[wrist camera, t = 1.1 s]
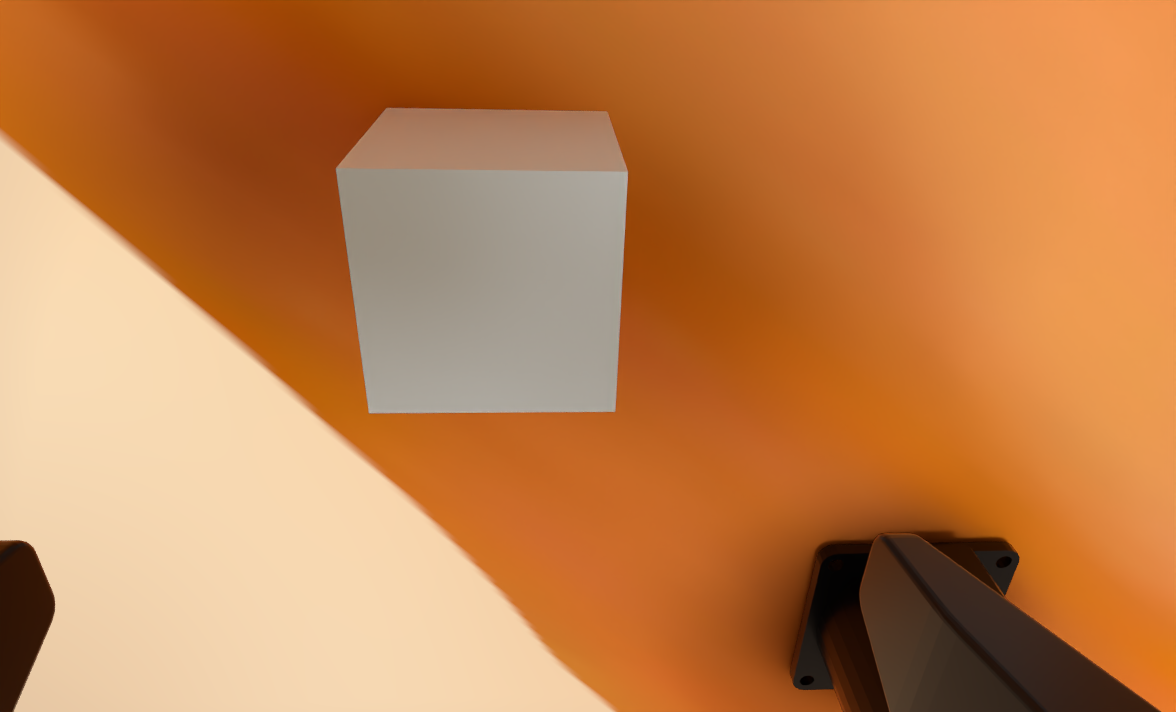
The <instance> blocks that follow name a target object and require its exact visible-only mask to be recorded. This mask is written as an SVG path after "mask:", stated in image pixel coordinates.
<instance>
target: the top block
mask: <svg viewBox="0 0 1176 712" xmlns="http://www.w3.org/2000/svg"><path fill="white" fill-rule="evenodd" d="M336 174H337V182H338V189H339V196H340V204H341V211H342V218H343V226H344V233H345V240H346V248H347V255H348V263H349V270H350V277H351V285H352V292H353V299H354V307H355V314H356V321H357V329H358V336H359V343H360V351H361V358H362V365H363V373H364V380H365V387H366V395H367V402H368V409H369V413H496V412H615V408H616V389H617V371H618V352H619V333H620V314H621V295H622V276H623V257H624V238H625V220H626V201H627V182H628V170H627V167H626V164H625V161H624V159H623V156H622V153H621V150H620V147H619V144H618V141H617V138H616V135H615V132H614V129H613V127H612V124H611V121H610V118H609V115H608V112H607V111H560V110H498V109H436V108H386V109H385V110H384V112H383V113H382V114H381V115H380V116H379V117H378V119H377V120H376V121H375V122H374V123H373V125H372V126H371V127H370V128H369V129H368V131H367V132H366V133H365V134H364V135H363V136H362V138H361V139H360V140H359V141H358V142H357V144H356V145H355V146H354V147H353V148H352V149H351V151H350V152H349V153H348V154H347V155H346V157H345V158H344V159H343V160H342V161H341V163H340V164H339V165H338V166H337V167H336Z"/></svg>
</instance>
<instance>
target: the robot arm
mask: <svg viewBox="0 0 1176 712" xmlns="http://www.w3.org/2000/svg"><path fill="white" fill-rule="evenodd" d="M837 559H838V560H837ZM833 560H836V561H835V562H832V561H833ZM1018 563H1019V555H1018V553H1017V552H1016V551H1015V549H1014V548H1013V547H1012V545H1010V544H1009V543H1007V542H958V543H928V542H927V541H925V540H924V539H923V538H921V537H919V536H918V535H915V534H911V533H884V534H881V535H878V536H877V537H876V538H875V540H874V542H873V544H850V545H830V546H827V547H825V548H823V549H822V550H821V551H820V552H819V553H818V555H817V557H816V561H815V566H814V570H813V574H812V578H811V583H810V587H809V591H808V596H807V600H806V604H805V608H804V613H803V617H802V621H801V626H800V630H799V634H798V639H797V643H796V647H795V651H794V656H793V660H792V664H791V669H790V676H791V679H792V682H793V685H794V686H795V687H796V688H798V689H801V690H817V689H834V690H835V692H836V695H837V698H838V700H839V703H840V705H841V708H842V711H843V712H1161V711H1160V710H1158V709H1157V708H1156V707H1154V706H1153V705H1151V704H1150V703H1149V702H1147V701H1146V700H1144V699H1143V698H1142V697H1140V696H1139V695H1138V694H1136V693H1135V692H1133V691H1132V690H1131V689H1129V688H1128V687H1127V686H1125V685H1124V684H1122V683H1121V682H1120V681H1118V680H1117V679H1116V678H1114V677H1113V676H1111V675H1110V674H1109V673H1107V672H1106V671H1105V670H1103V669H1102V668H1100V667H1099V666H1098V665H1096V664H1095V663H1093V662H1092V661H1091V660H1089V659H1088V658H1087V657H1085V656H1084V655H1082V654H1081V653H1080V652H1078V651H1077V650H1076V649H1074V648H1073V647H1071V646H1070V645H1069V644H1067V643H1066V642H1065V641H1063V640H1062V639H1060V638H1059V637H1058V636H1056V635H1055V634H1053V633H1052V632H1051V631H1049V630H1048V629H1047V628H1045V627H1044V626H1042V625H1041V624H1040V623H1038V622H1037V621H1036V620H1034V619H1033V618H1031V617H1030V616H1029V615H1027V614H1026V613H1025V612H1023V611H1022V610H1020V609H1019V608H1018V607H1016V606H1015V605H1014V604H1012V603H1011V602H1009V601H1008V600H1007V599H1006V597H1005V594H1006V592H1007V589H1008V587H1009V585H1010V582H1011V580H1012V577H1013V575H1014V572H1015V570H1016V567H1017V565H1018ZM54 612H55V599H54V595H53V592H52V589H51V587H50V584H49V582H48V580H47V577H46V575H45V573H44V570H43V568H42V566H41V563H40V561H39V558H38V556H37V554H36V551H35V550H34V548H33V547H32V546H31V545H30V544H29V543H27V542H24V541H19V540H14V541H13V540H12V541H0V712H14V709H15V707H16V704H17V702H18V700H19V698H20V695H21V693H22V690H23V688H24V686H25V683H26V681H27V679H28V676H29V674H30V672H31V669H32V667H33V665H34V662H35V660H36V658H37V655H38V653H39V651H40V648H41V646H42V644H43V641H44V639H45V637H46V634H47V632H48V630H49V627H50V625H51V623H52V620H53V616H54Z"/></svg>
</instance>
